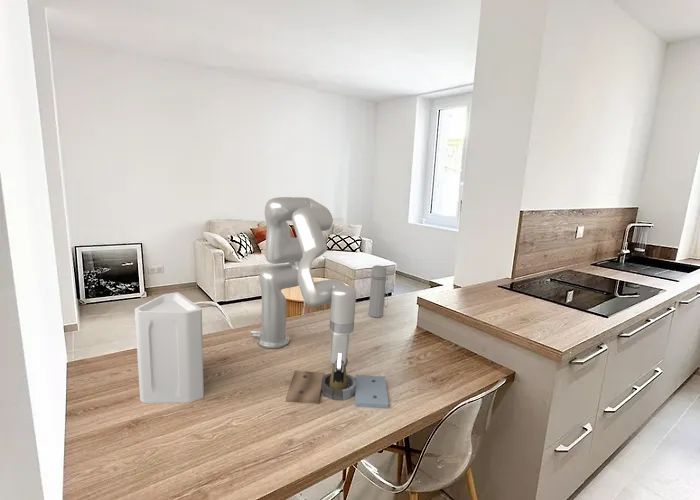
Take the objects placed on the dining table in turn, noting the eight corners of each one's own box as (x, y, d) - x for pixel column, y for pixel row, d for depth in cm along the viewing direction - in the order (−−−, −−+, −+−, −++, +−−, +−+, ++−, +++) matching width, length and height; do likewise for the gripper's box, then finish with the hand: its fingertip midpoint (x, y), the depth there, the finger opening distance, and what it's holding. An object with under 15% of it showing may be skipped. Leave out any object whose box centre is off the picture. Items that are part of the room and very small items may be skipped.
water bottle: (367, 317, 183) (371, 268, 178) (369, 311, 191) (372, 264, 186) (386, 319, 182) (390, 270, 177) (387, 314, 189) (391, 266, 184)
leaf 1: (285, 401, 113) (286, 392, 112) (294, 373, 129) (294, 365, 128) (341, 405, 113) (341, 396, 112) (343, 377, 128) (343, 369, 128)
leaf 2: (340, 405, 113) (341, 396, 112) (342, 376, 128) (343, 368, 128) (388, 408, 113) (388, 399, 112) (384, 379, 128) (385, 371, 128)
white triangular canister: (131, 386, 116) (126, 300, 110) (180, 371, 126) (177, 291, 120) (151, 417, 103) (146, 321, 97) (204, 397, 113) (202, 309, 107)
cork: (349, 385, 122) (352, 354, 120) (343, 394, 117) (345, 362, 115) (332, 381, 124) (334, 350, 122) (325, 390, 118) (327, 358, 116)
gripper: (331, 314, 124) (328, 364, 128) (327, 336, 108) (324, 392, 112) (354, 316, 124) (350, 366, 128) (353, 337, 108) (349, 394, 112)
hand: (338, 378), depth 120 cm, fingers closed on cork, 3 cm apart
